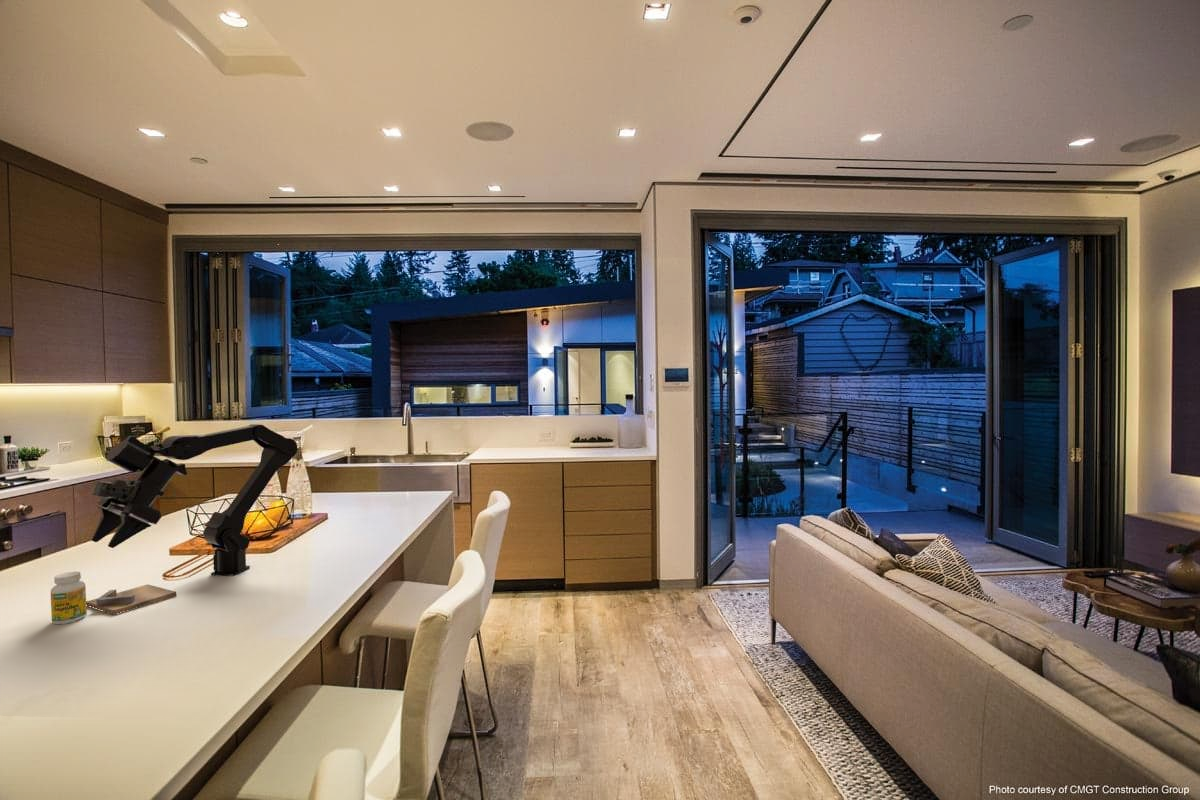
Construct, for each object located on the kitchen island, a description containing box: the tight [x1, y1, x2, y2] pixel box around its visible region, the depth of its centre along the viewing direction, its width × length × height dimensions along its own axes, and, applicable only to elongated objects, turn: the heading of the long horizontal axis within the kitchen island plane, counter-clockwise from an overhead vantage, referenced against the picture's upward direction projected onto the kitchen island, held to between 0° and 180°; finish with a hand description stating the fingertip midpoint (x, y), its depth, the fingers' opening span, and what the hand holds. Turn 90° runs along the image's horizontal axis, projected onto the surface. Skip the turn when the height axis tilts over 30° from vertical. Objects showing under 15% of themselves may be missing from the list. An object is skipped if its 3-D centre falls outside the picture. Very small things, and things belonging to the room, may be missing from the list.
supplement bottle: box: [50, 571, 88, 625], centre depth 118 cm, size 5×5×10 cm
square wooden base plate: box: [86, 584, 177, 615], centre depth 128 cm, size 12×12×2 cm
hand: (101, 544), depth 125 cm, fingers open, 9 cm apart
